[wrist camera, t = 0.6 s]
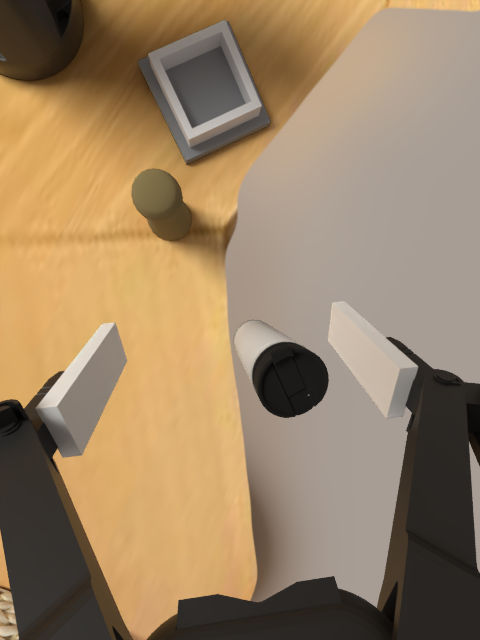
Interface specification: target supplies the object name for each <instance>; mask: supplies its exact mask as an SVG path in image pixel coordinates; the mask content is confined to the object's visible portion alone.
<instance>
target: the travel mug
mask: <svg viewBox="0 0 480 640" xmlns="http://www.w3.org/2000/svg"><path fill="white" fill-rule="evenodd" d="M234 346H235V348H236V351H237V353H238V355H239V357H240V360H241V362H242V364H243V366H244V368H245V370H246V372H247V375H248V377H249V379H250V381H251V383H252V385H253V388H254V390H255V391H256V393H257V395H258V397H259V399H260V401H261V403H262V404H263V406H264V407H265V408H266V409H267V410H268V411H269V412H271V413H272V414H274V415H276V416H279V417H284V418H289V417H295V415H301V414H303V413H305V412H307V411H309V410H310V409H312V407H313V406H316V405H317V404H318V403H319V402H320V401H321V400H322V399H323V397H324V395H325V393H326V390H327V388H328V381H329V380H328V372H327V368H326V366H325V364H324V362H323V361H322V360H321V359H320V357H318V356H317V355H316V354H314V353H313V352H311V351H310V350H308V349H306V348H305V347H304V346H303V345H300V344H299V343H298V342H296V341H294V340H293V339H291V338H289V337H288V336H286V335H284V334H283V333H281V332H279V331H278V330H276V329H274V328H273V327H271V326H269V325H268V324H266V323H264V322H262V321H259V320H249V321H247V322H244V323H243V324H242V325H240V326H239V327H238V329H237V330H236V332H235V335H234Z"/></svg>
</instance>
